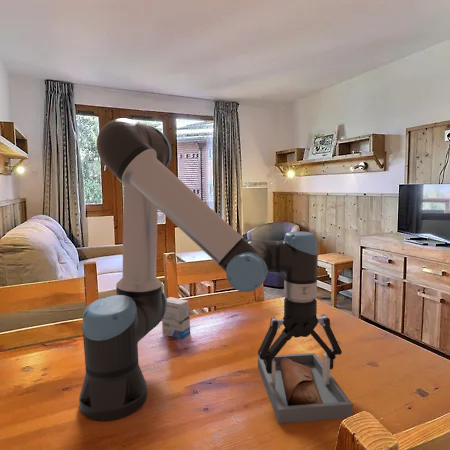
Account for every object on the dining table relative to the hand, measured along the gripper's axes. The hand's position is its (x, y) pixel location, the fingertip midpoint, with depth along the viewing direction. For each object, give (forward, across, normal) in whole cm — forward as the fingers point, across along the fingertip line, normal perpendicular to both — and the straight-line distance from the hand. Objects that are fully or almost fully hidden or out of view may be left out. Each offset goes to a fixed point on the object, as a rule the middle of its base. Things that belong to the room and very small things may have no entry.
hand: (299, 383), depth 86 cm
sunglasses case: (+1, 0, 0) cm, 1 cm away
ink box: (+2, -31, +36) cm, 48 cm away
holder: (+2, 0, 0) cm, 2 cm away
